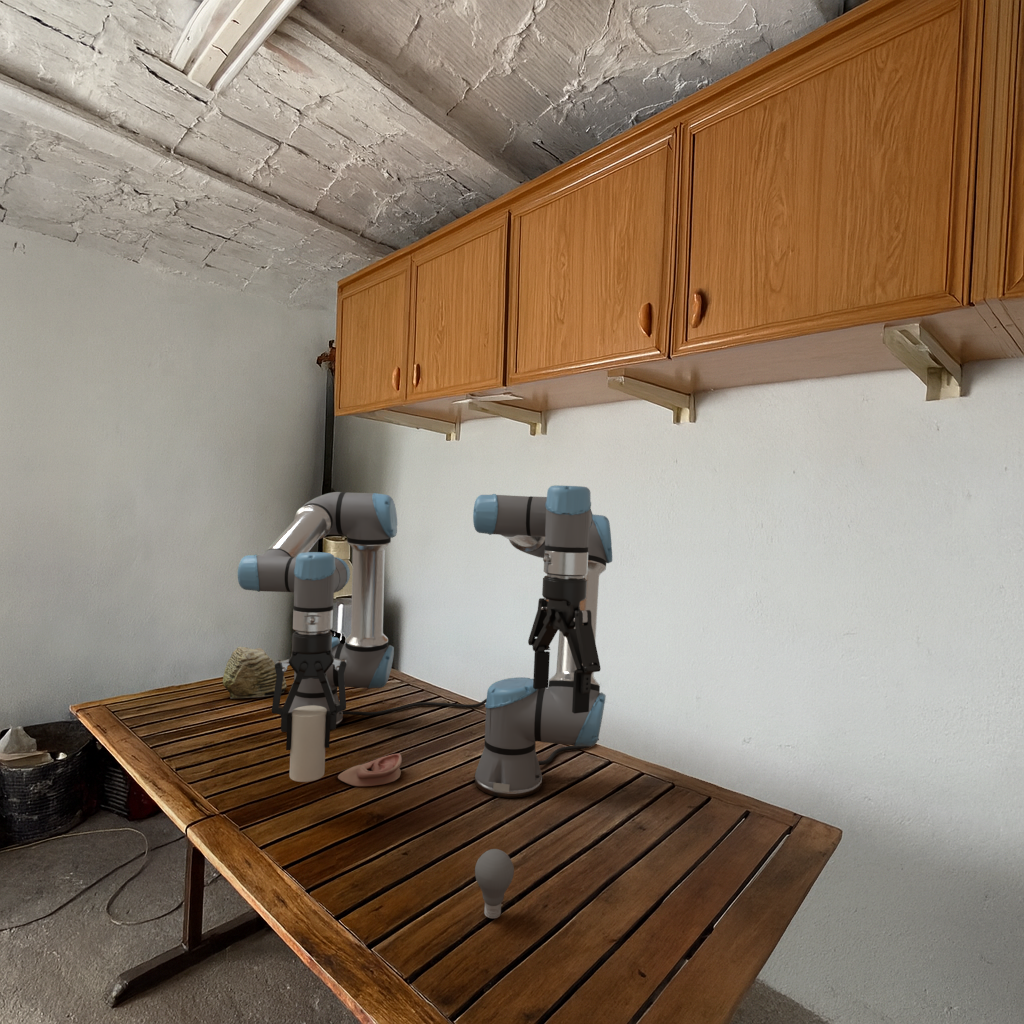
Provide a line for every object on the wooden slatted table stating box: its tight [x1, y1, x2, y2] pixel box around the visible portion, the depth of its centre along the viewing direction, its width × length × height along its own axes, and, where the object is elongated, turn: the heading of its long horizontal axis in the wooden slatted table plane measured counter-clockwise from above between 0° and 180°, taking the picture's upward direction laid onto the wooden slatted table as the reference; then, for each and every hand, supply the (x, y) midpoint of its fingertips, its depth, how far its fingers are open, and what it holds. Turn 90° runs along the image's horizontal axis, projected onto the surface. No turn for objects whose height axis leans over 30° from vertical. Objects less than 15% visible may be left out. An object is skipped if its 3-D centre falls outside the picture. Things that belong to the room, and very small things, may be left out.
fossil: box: [222, 646, 288, 699], centre depth 198 cm, size 9×18×15 cm, turn 132°
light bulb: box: [474, 848, 515, 919], centre depth 98 cm, size 6×6×10 cm
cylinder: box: [288, 705, 327, 783], centre depth 125 cm, size 7×7×13 cm
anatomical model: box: [337, 753, 403, 787], centre depth 144 cm, size 13×4×12 cm
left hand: (308, 746), depth 126 cm, fingers closed on cylinder, 7 cm apart
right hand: (559, 699), depth 109 cm, fingers open, 13 cm apart
